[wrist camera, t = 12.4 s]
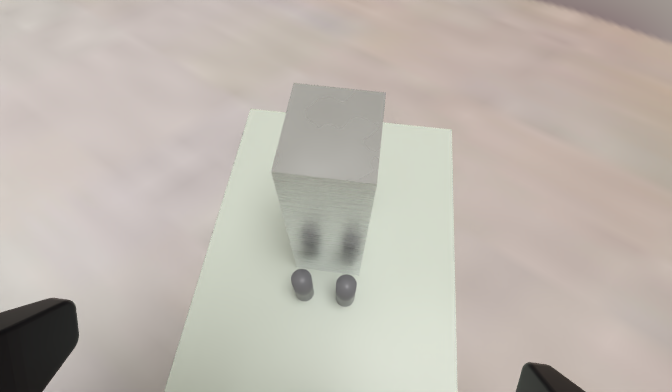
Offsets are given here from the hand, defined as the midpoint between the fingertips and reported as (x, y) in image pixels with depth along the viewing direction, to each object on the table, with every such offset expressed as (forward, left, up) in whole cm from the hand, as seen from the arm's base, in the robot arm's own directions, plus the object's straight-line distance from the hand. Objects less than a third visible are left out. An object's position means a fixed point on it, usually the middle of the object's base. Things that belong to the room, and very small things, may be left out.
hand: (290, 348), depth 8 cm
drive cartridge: (0, +8, -13) cm, 15 cm away
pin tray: (0, +7, -14) cm, 16 cm away
